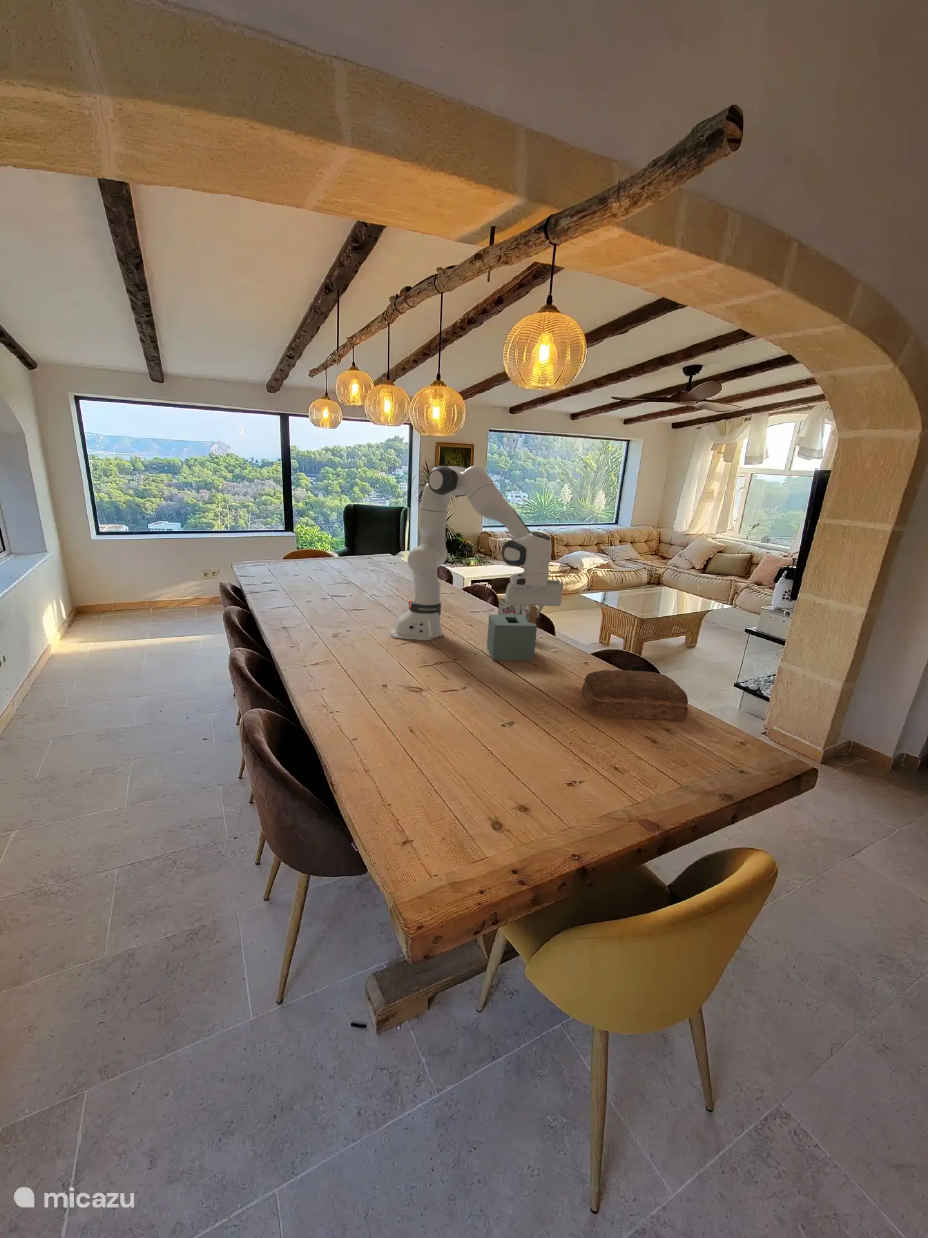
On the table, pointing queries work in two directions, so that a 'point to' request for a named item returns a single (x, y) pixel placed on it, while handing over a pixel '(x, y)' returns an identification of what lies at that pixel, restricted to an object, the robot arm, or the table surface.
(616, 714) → the bread
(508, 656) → the coin box
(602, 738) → the table surface
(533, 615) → the token
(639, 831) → the table surface
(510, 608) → the candy bar box
